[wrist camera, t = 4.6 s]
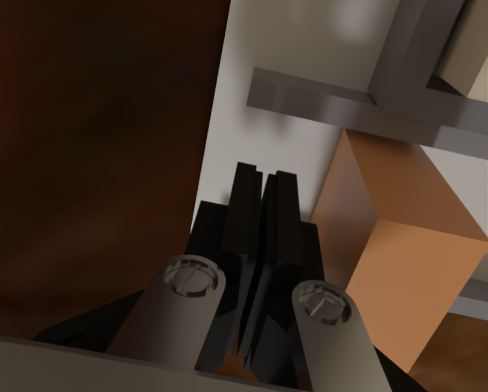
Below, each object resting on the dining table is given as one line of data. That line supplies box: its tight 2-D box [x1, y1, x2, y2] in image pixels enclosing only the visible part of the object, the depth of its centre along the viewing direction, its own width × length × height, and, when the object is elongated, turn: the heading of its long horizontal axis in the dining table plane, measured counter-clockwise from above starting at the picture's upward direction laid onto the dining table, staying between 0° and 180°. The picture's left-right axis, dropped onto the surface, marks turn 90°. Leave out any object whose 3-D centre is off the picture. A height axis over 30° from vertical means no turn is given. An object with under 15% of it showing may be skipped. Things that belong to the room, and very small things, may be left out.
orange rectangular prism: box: [310, 128, 488, 373], centre depth 12 cm, size 2×4×5 cm, turn 168°
